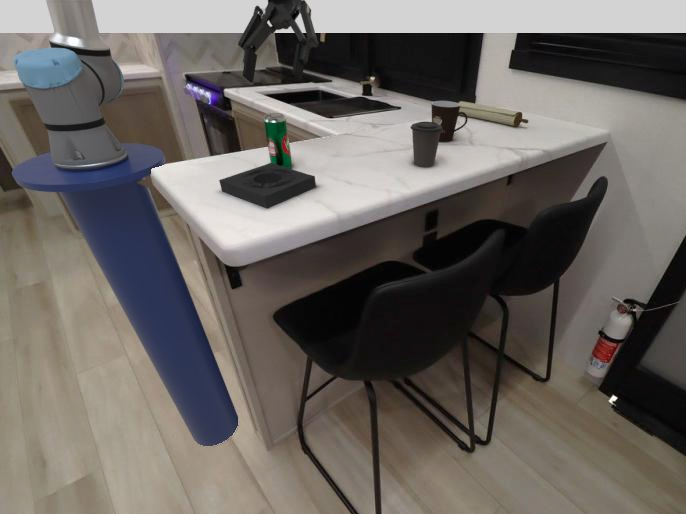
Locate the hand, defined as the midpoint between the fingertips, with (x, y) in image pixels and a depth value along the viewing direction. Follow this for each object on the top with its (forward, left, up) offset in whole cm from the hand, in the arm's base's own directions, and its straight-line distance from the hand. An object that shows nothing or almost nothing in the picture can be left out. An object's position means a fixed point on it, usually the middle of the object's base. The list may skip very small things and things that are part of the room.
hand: (271, 77), depth 86 cm
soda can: (+4, -4, -19) cm, 20 cm away
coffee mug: (+24, +44, -19) cm, 53 cm away
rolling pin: (+24, +77, -19) cm, 83 cm away
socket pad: (+12, -15, -19) cm, 27 cm away
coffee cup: (+30, +21, -19) cm, 41 cm away
